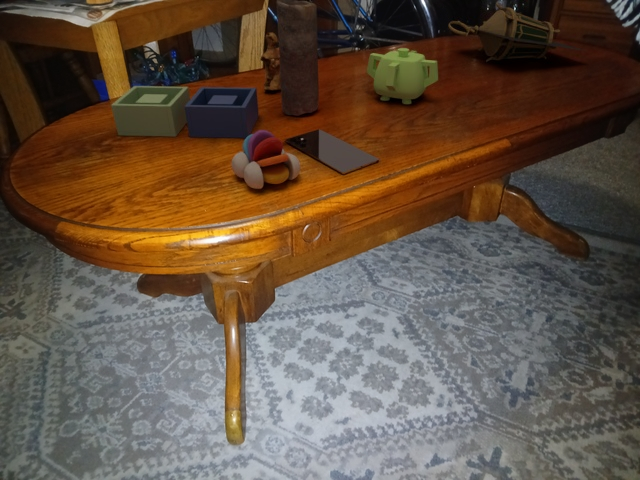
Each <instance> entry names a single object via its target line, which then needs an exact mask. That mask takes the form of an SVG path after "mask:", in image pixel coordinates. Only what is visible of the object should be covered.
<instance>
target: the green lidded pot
mask: <svg viewBox="0 0 640 480" xmlns="http://www.w3.org/2000/svg"><path fill="white" fill-rule="evenodd" d="M377 61H379V62H378V64H377ZM366 67H367V68H366V73H367V75H369V76H370V77H371V78H372V79H373V89H374V92H375V94H377V95H379V96H381V97H380V98H379V100H380V101H384V102H386V101H390V99H391V98H393V99H401V103H402V104H403V105H411V104H412V100H415V99H418V98H419V97H420V96H422V95H423V93H424V92H425V90H426V89H427V87H429V86H431V85H432V84H434V83H436V82H438V81H439V70H438V69H439V68H438V67H439V66H438V60H433V59H431V60H430V59H426V56H425V55H424V54H421V53H418V51H417V50H410V49H409V48H406V47H400V48H398V49H397V50H392V51H388V52H387V53H385V54H381V53H376V52H372V53H370V54H369V58H368V62H367V66H366ZM428 67H429V68H428Z"/></svg>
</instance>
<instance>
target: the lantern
mask: <svg viewBox="0 0 640 480" xmlns="http://www.w3.org/2000/svg"><path fill="white" fill-rule="evenodd" d="M495 5H496V8H498V10H496V11H495V13H494V14H493V15H491V16H490V17H489V19H487V20H486V21H483V22H482V23H483V24H482V25H480V26H478V25H475V26H474V25H469V24H465V23H463V22H461V21H460V20H457V21H456V20H452V21H450V22H449V23H448V28H449V30H450V31H451V32H453V33H454V34H458V35H460V36H464V37H468V35H469V33H472V34H473V36H478V38H479V39H480V42H481V44H482V47H480V48H478V51H484V52H485V55H487V56H488V57H489V58H487V59H486V60H485V62H486V63H487V62H489V61H491V60H493V61H496V62H497V61H502V60H506V59H524V58H525V59H526V58H527V59H528V58H534V59H538V60H539V59H544V60H547V56H546V54H547V53H548V51H550V50H557V47H558V48H562V49H563V48H564V49H571V50H577V51H585V52H587V50H586V49H582V48H578V47H575V46H571V45H567V44H564V43H559V42H556V41H553V39H554V34H557V33H560V32H561V30H560V29H555V28H554V27H553V26H554V23H551V22H549V21H540V20H537V19H535V18H533V17H530V16H527V15H525V14H521V13H519V12H516V11H515V9H514V8H512V7H507V6H505V7H503V6H501V5H500V4H499V3H498V2H496V3H495ZM452 25H458V26H460V27H463V29H465V30H466V32H465V31H461V30H458V29H455V28H454V27H453V26H452Z"/></svg>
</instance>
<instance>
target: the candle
mask: <svg viewBox="0 0 640 480" xmlns="http://www.w3.org/2000/svg"><path fill="white" fill-rule="evenodd" d="M317 12H318V11H317V5H316V4H315V3H312V2H309V1H307V0H276V17H277V32H278V33H277V40H278V47H279V57H280V81H281V90H280V97H281V109H282V112H283V114H285V115H286V116H297V117H298V116H301V115H303V114H311V113H313V112H315V111H317V109H319V105H320V91H319V90H320V88H319V86H320V85H319V55H318V54H319V53H318V15H317Z"/></svg>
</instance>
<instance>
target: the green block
mask: <svg viewBox="0 0 640 480" xmlns="http://www.w3.org/2000/svg"><path fill="white" fill-rule="evenodd" d="M136 104H156V105H168V104H169V98H168V95H165V94H144V95H143V96H142V97H141V98H140V99H139V100H138V101H136Z"/></svg>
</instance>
